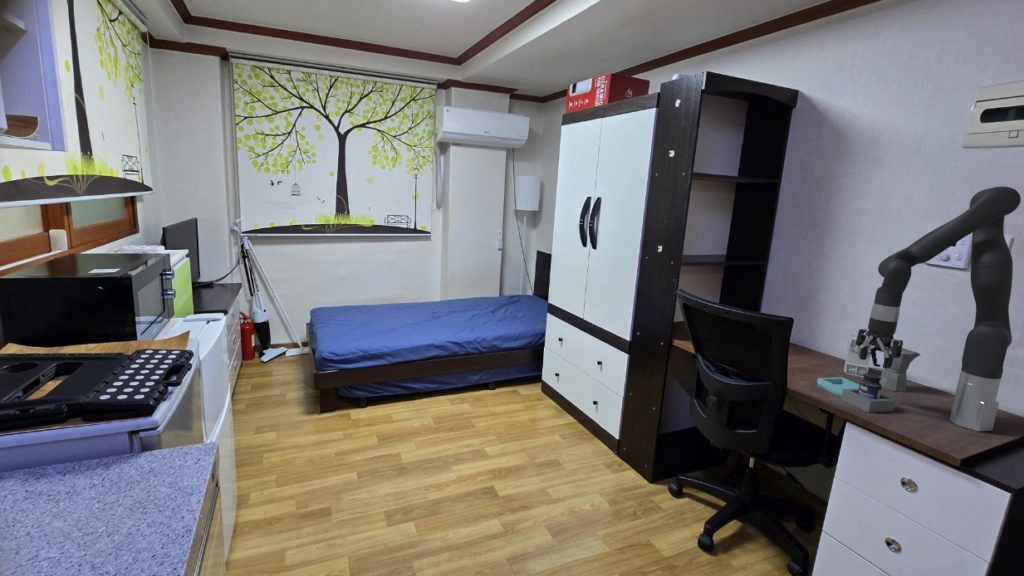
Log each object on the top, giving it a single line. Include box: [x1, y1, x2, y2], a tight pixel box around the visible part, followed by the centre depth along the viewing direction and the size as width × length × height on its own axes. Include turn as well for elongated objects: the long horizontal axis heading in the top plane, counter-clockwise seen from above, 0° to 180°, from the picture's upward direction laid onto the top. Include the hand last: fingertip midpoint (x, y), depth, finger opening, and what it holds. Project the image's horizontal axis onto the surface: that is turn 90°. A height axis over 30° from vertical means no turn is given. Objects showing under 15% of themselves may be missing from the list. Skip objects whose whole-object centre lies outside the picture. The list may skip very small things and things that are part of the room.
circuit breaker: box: [843, 334, 874, 378], centre depth 200 cm, size 8×14×15 cm, turn 146°
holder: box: [840, 388, 897, 414], centre depth 165 cm, size 10×10×4 cm
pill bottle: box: [858, 372, 883, 399], centre depth 164 cm, size 6×6×11 cm
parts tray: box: [816, 376, 860, 398], centre depth 178 cm, size 11×11×3 cm
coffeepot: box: [870, 346, 921, 393], centre depth 183 cm, size 15×9×18 cm, turn 67°
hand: (874, 363), depth 163 cm, fingers open, 8 cm apart
